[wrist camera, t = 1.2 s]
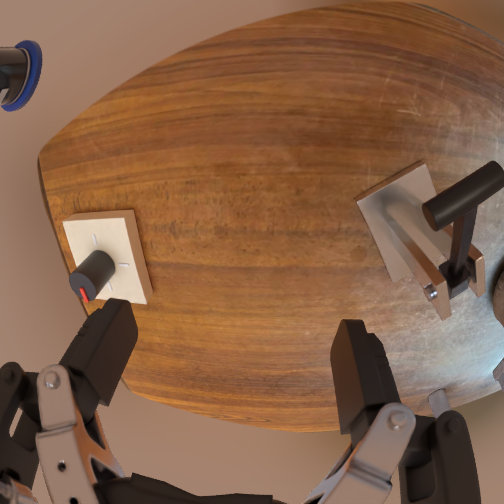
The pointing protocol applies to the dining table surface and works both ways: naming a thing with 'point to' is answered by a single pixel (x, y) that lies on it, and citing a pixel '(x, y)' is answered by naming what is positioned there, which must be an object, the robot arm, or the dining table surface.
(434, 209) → the lever
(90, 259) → the dial
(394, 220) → the bracket
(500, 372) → the toaster
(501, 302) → the bowl
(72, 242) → the dial panel
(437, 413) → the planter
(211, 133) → the dining table surface
